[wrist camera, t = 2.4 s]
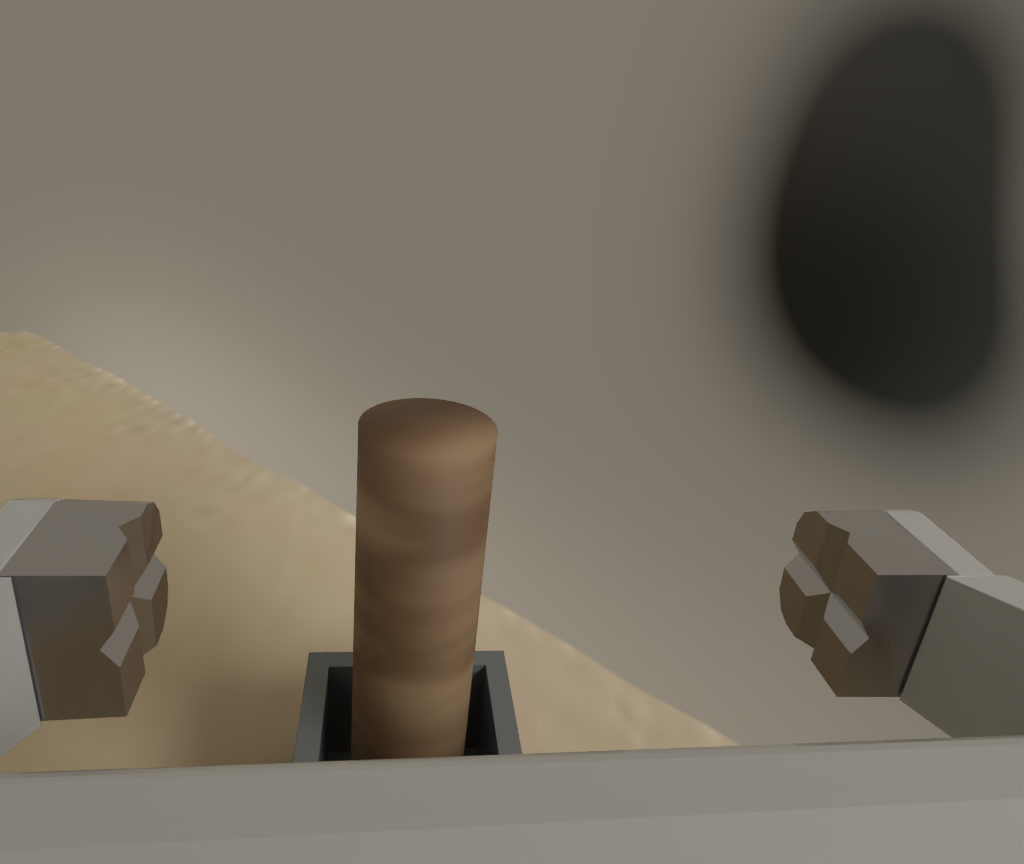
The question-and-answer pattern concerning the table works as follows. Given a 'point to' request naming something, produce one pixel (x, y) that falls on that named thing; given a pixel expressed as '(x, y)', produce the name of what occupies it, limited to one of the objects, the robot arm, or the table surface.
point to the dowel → (418, 574)
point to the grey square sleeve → (331, 709)
